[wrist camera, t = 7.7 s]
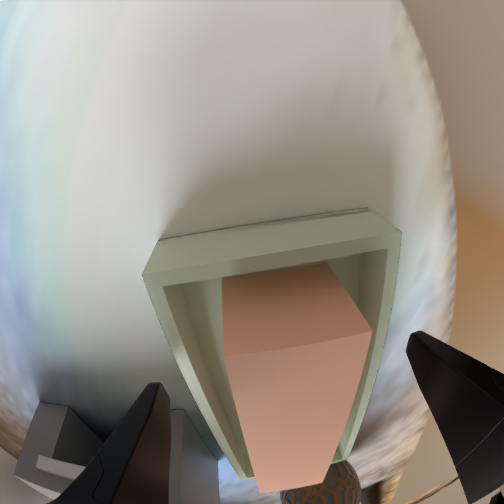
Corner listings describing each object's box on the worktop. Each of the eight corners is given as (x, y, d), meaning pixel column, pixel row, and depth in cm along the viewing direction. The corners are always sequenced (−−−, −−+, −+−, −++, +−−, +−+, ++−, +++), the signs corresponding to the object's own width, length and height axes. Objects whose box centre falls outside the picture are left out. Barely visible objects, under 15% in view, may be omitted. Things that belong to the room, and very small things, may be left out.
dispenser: (217, 461, 19) (222, 533, 12) (95, 456, 18) (85, 516, 12) (181, 404, 14) (176, 514, 8) (35, 397, 14) (8, 471, 8)
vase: (353, 455, 21) (376, 525, 14) (290, 477, 22) (304, 546, 14) (340, 436, 19) (369, 525, 11) (263, 461, 19) (276, 548, 11)
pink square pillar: (309, 436, 17) (322, 482, 13) (253, 445, 16) (259, 493, 13) (327, 263, 11) (372, 330, 7) (221, 276, 10) (223, 356, 7)
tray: (339, 434, 18) (347, 459, 16) (238, 453, 18) (241, 480, 16) (367, 207, 10) (401, 231, 8) (158, 240, 10) (142, 274, 8)
